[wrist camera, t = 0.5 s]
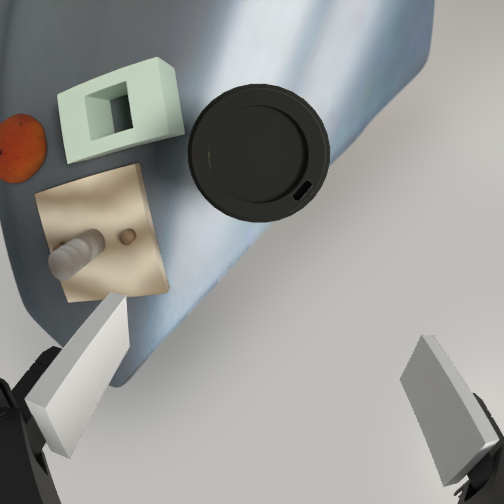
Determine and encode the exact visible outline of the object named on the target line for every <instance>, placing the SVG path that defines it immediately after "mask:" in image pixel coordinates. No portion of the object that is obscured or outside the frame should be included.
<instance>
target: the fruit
mask: <svg viewBox="0 0 504 504" xmlns="http://www.w3.org/2000/svg"><path fill="white" fill-rule="evenodd" d="M46 151H47V142H46V138H45V132H44V129H43V127H42V125H41V124H40V123H39V122H38V121H37V120H36V119H35V118H33V117H32V116H30V115H26V114H17V115H14V116H11V117H9V118H8V119H6V120H5V121H3V122H2V123H1V124H0V179H1V180H3V181H5V182H7V183H21V182H24V181H26V180H27V179H29V178H30V177H31V176H33V175H34V174H35V173H36V172H37V170H38V169H39V168H40V167H41V165H42V164H43V162H44V160H45V157H46Z"/></svg>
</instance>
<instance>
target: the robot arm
mask: <svg viewBox="0 0 504 504" xmlns="http://www.w3.org/2000/svg"><path fill="white" fill-rule="evenodd" d="M129 347H130V345H129V334H128V320H127V303H126V295H121V294H116V293H111V292H110V293H109V294H108V295H107V296H106V298H105V299H104V300H103V301H102V302H101V303H100V305H99V306H98V307H97V308H96V309H95V310H94V312H93V313H92V314H91V315H90V316H89V317H88V319H87V320H86V321H85V322H84V323H83V325H82V326H81V327H80V328H79V329H78V331H77V332H76V333H75V334H74V335H73V337H72V338H71V339H70V340H69V342H68V343H67V344H66V345H65V347H64V348H63V349H61V348H58V347H55V346H52V347H51V348H49V349H47V350H46V351H44V352H42V354H41V355H40V356H39V357H38V359H37V360H36V361H35V363H33V365H32V366H31V367H30V370H28V371H27V372H26V373H25V374H24V376H23V377H22V378H21V379H20V381H19V382H18V383H17V384H16V386H15V387H14V388H13V389H12V391H11V389H10V387H9V385H8V383H7V382H6V381H5V380H4V379H1V378H0V504H61V502H60V499H59V497H58V494H57V491H56V489H55V486H54V483H53V480H52V477H51V474H50V471H49V468H48V465H47V462H46V458H45V455H44V452H43V451H42V448H43V446H44V444H45V443H47V444H48V446H49V448H50V449H51V451H53V452H55V453H57V454H59V455H62V456H64V457H66V458H69V459H70V457H71V455H72V453H73V451H74V449H75V447H76V445H77V443H78V441H79V439H80V437H81V435H82V434H83V432H84V430H85V428H86V425H87V424H88V422H89V420H90V418H91V416H92V414H93V412H94V410H95V408H96V406H97V405H98V403H99V401H100V399H101V397H102V395H103V394H104V392H105V390H106V388H107V386H108V384H109V383H110V381H111V379H112V377H113V375H114V373H115V372H116V370H117V368H118V366H119V364H120V363H121V361H122V359H123V357H124V356H125V354H126V352H127V350H128V349H129ZM400 381H401V383H402V385H403V388H404V390H405V392H406V394H407V397H408V399H409V401H410V403H411V405H412V408H413V410H414V413H415V415H416V417H417V420H418V422H419V424H420V427H421V429H422V432H423V434H424V436H425V439H426V442H427V444H428V447H429V449H430V452H431V454H432V457H433V459H434V462H435V465H436V467H437V470H438V473H439V475H440V478H441V481H442V483H443V486H444V487H445V486H448V485H452V484H456V483H458V482H459V481H460V480H461V479H463V478H464V477H465V476H466V475H468V478H469V480H468V481H467V482H466V483H465V484H463V486H461V487H460V488H459V489H458V490H457V491H456V492H455V493H454V496H456V495H457V494H458V493H459V492H460V491H462V493H461V495H460V496H459V498H460V499H459V501H458V504H504V436H503V435H502V433H501V431H500V429H499V427H498V426H497V424H496V423H495V421H494V419H493V418H492V417H491V414H490V412H489V411H488V410H487V407H486V405H485V404H484V402H483V401H482V399H480V398H479V397H478V396H477V395H476V394H475V393H472V392H471V390H470V388H469V387H468V385H467V384H466V382H465V381H464V379H463V377H462V376H461V374H460V373H459V371H458V370H457V368H456V367H455V366H454V364H453V362H452V361H451V359H450V358H449V356H448V355H447V353H446V352H445V350H444V349H443V347H442V346H441V344H440V343H439V342H438V340H437V339H436V338H435V336H434V335H421V337H420V339H419V341H418V343H417V346H416V348H415V350H414V352H413V354H412V356H411V358H410V360H409V362H408V364H407V366H406V368H405V370H404V372H403V374H402V376H401V378H400Z"/></svg>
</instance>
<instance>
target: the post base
mask: <svg viewBox="0 0 504 504" xmlns="http://www.w3.org/2000/svg"><path fill="white" fill-rule="evenodd" d="M35 198H36V202H37V206H38V210H39V214H40V218H41V222H42V225H43V229H44V233H45V236H46V239H47V243H48V246H49V249H50V252H51V254H50V255H49V258H48V266H49V269H50V271H51V273H52V274H53V275H54V277H56V278H57V279H58V280H60V282H61V285H62V287H63V290H64V293H65V295H66V298H67V300H68V302H79V301H91V300H102V299H105V298H106V296H107V295H108V294H109V293H110V292H111V293H116V294H121V295H126V297H134V296H145V295H154V294H164V293H167V292H168V290H169V288H170V287H169V284H168V280H167V276H166V273H165V269H164V265H163V262H162V258H161V254H160V250H159V246H158V242H157V238H156V234H155V230H154V226H153V222H152V218H151V213H150V209H149V205H148V200H147V196H146V191H145V187H144V182H143V177H142V172H141V167H140V163H137V164H133V165H129V166H125V167H121V168H117V169H114V170H110V171H106V172H103V173H99V174H96V175H93V176H89V177H86V178H83V179H79V180H76V181H73V182H70V183H67V184H63V185H60V186H57V187H54V188H51V189H48V190H45V191H43V192H40V193H37V194H35Z"/></svg>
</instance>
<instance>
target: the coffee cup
mask: <svg viewBox="0 0 504 504" xmlns="http://www.w3.org/2000/svg"><path fill="white" fill-rule="evenodd" d="M188 163H189V167H190V171H191V175H192V178H193V180H194V182H195V184H196V186H197V188H198V190H199V191H200V192H201V194H202V195H203V196H204V198H205V199H206V200H207V201H208V202H209V203H210V204H211V205H213V206H214V207H215V208H216V209H218V210H219V211H221V212H222V213H224V214H226V215H228V216H230V217H233V218H235V219H238V220H242V221H247V222H271V221H277V220H280V219H283V218H286V217H288V216H291V215H293V214H294V213H296V212H298V211H299V210H301V209H302V208H304V207H305V206H306V205H307V204H308V203H309V202H310V201H311V200H312V199H313V198H314V197H315V196H316V194H317V193H318V191H319V190H320V188H321V187H322V185H323V182H324V180H325V178H326V175H327V172H328V168H329V163H330V145H329V139H328V134H327V132H326V129H325V127H324V124H323V122H322V120H321V119H320V117H319V116H318V114H317V113H316V111H315V110H314V109H313V108H312V107H311V106H310V105H309V104H308V103H307V102H306V101H305V100H304V99H303V98H301V97H300V96H298V95H297V94H295V93H293V92H292V91H289V90H287V89H284V88H282V87H279V86H274V85H268V84H249V85H244V86H239V87H236V88H233V89H231V90H229V91H226V92H224V93H222V94H221V95H220V96H218V97H217V98H215V99H214V100H212V101H211V102H210V103H209V104H208V105H207V106H206V107H205V109H204V110H203V111H202V112H201V114H200V115H199V117H198V118H197V120H196V122H195V124H194V126H193V129H192V131H191V134H190V138H189V145H188Z"/></svg>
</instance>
